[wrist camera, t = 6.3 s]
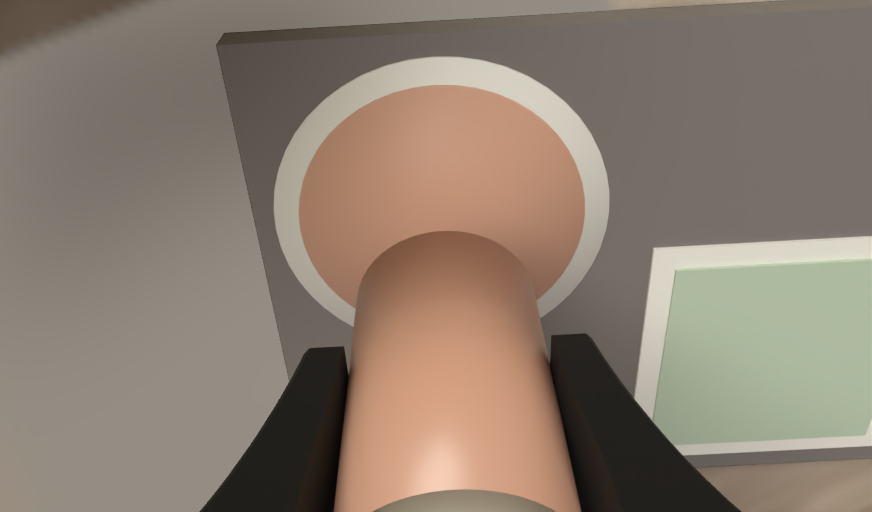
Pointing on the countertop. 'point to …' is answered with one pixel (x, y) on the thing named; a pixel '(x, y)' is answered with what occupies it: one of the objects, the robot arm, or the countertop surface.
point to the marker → (451, 386)
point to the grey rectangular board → (597, 195)
